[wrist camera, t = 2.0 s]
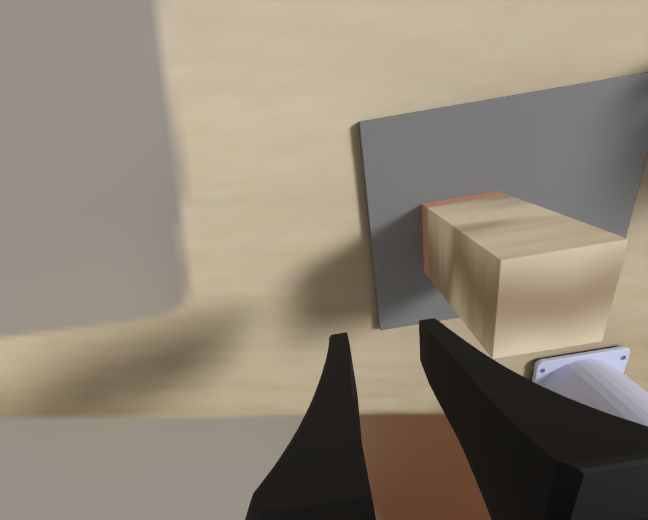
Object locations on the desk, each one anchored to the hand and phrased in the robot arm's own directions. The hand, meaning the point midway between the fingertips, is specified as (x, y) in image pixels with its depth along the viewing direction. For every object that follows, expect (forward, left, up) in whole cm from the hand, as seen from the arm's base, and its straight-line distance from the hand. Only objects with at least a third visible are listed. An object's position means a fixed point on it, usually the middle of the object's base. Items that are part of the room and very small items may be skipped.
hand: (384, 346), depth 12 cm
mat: (0, -11, -10) cm, 15 cm away
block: (0, -8, -10) cm, 12 cm away
